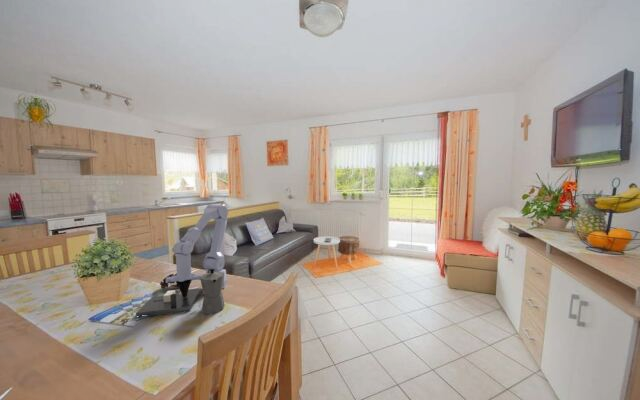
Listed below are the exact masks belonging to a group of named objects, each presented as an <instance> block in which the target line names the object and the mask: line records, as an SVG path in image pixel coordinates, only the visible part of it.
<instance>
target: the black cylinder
mask: <svg viewBox="0 0 640 400" xmlns="http://www.w3.org/2000/svg"><path fill="white" fill-rule="evenodd" d="M170 297H171V307H175V306H176V294H172V295H170Z"/></svg>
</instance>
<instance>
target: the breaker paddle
mask: <svg viewBox="0 0 640 400" xmlns="http://www.w3.org/2000/svg"><path fill="white" fill-rule="evenodd" d="M175 291H176V290H175V289H174V290H173V289H172V290H167V291H166V292H167V293H166V294H165V295H164V296H163V300H164V302H171V297H170V295H172V294H175Z"/></svg>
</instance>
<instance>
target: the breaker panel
mask: <svg viewBox="0 0 640 400" xmlns="http://www.w3.org/2000/svg"><path fill="white" fill-rule="evenodd" d="M166 293H167V291H158V292H156V293H154V295H152V297H150V298H149V299H148V300H147V301H146V302H145V303H144V304H143V305H142V307H140V308H139V310H138V311H137V312H136V313H135V317H136V316H142V315H148V316H147V317H152V316H153V317H154V316H155V317H156V316H162V315H170V314H179V313H188V312H189V313H190V312H191V310H192V308H193V307H194V305H195V304H196V302H197V300H198V299H199V297H200V295H201V294H202V293H203V289H202V287H198V288H189V289H188V293H187V296H186V297H183V296H182V293H181V291H180V289H178V290H175V294H176V306H175V307H171V302H164V300H163V296H164V295H165V294H166Z"/></svg>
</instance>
